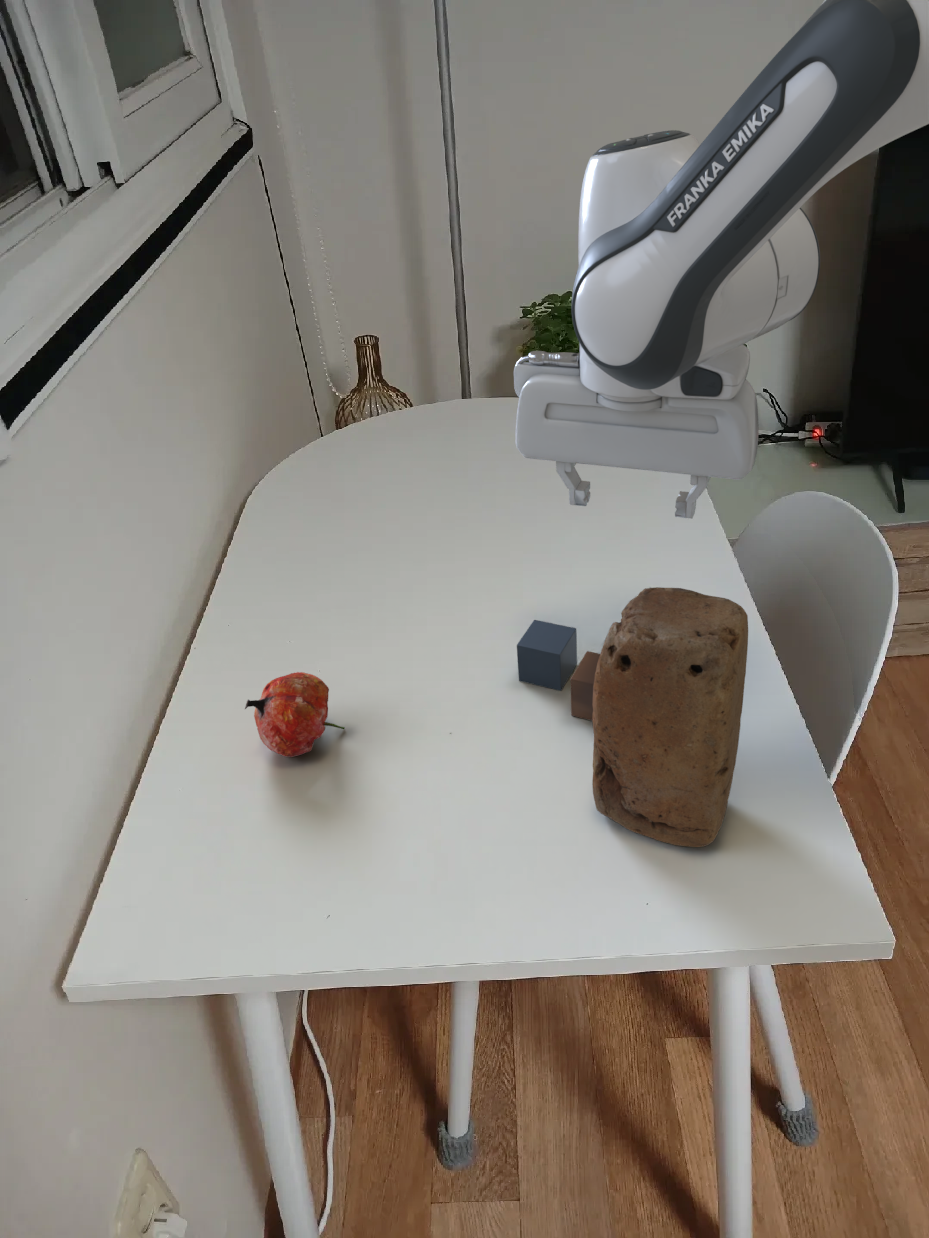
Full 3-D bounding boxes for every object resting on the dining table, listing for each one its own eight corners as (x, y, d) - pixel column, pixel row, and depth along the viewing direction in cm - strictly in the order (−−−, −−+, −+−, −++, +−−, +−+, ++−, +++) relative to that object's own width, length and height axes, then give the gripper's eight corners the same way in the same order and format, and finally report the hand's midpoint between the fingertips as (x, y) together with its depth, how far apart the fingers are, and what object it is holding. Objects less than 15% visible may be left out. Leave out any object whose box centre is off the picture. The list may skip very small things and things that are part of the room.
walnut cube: (631, 697, 89) (632, 660, 87) (616, 727, 86) (617, 689, 83) (587, 687, 91) (586, 650, 88) (570, 715, 88) (570, 678, 85)
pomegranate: (324, 724, 93) (228, 694, 88) (361, 675, 89) (264, 641, 85) (328, 783, 87) (227, 755, 83) (369, 733, 84) (265, 700, 79)
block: (736, 797, 78) (760, 595, 66) (716, 864, 73) (738, 657, 61) (609, 765, 82) (611, 569, 71) (580, 826, 77) (577, 626, 65)
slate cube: (577, 664, 94) (576, 628, 91) (561, 691, 91) (560, 654, 88) (535, 654, 96) (534, 619, 93) (518, 680, 92) (516, 644, 90)
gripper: (499, 363, 77) (508, 512, 85) (759, 380, 70) (742, 541, 78) (524, 336, 82) (531, 480, 90) (770, 350, 75) (754, 504, 83)
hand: (631, 508), depth 84 cm, fingers open, 8 cm apart
